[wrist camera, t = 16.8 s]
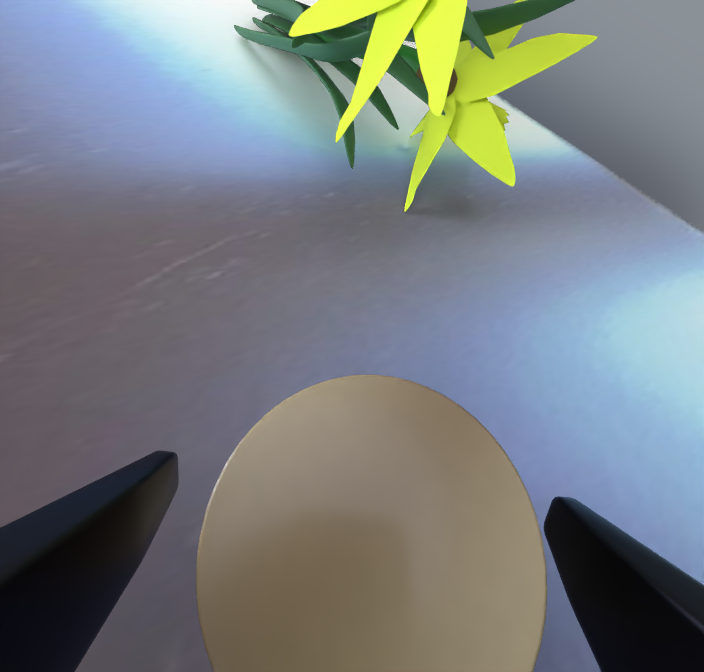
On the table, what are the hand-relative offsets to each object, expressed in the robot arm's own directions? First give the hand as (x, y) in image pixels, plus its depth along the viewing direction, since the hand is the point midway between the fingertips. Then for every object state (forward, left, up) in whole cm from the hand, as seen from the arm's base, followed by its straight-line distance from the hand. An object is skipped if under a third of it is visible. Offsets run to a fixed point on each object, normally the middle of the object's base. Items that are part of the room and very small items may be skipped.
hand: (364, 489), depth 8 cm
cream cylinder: (-1, 0, -7) cm, 8 cm away
